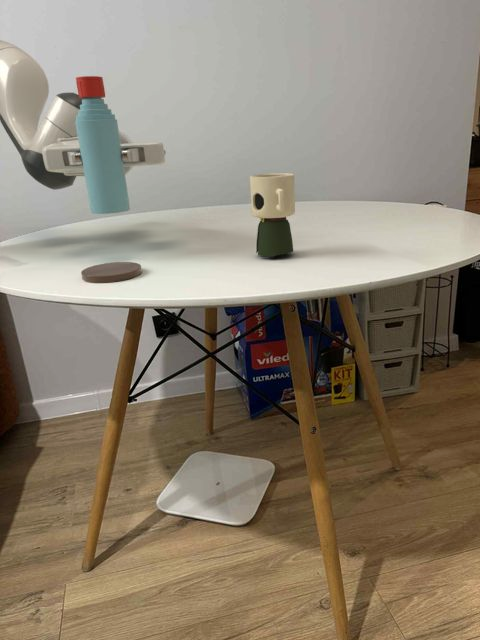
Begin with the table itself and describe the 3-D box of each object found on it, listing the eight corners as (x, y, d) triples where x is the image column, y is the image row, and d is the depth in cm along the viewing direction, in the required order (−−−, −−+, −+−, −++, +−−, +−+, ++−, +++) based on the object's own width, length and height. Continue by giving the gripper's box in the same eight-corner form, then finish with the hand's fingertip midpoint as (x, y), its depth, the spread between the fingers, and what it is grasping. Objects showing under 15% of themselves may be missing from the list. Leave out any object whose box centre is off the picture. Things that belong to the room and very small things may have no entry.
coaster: (72, 276, 78) (70, 270, 78) (123, 265, 84) (122, 259, 83) (99, 286, 72) (98, 279, 72) (153, 273, 78) (152, 266, 77)
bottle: (84, 212, 85) (60, 82, 77) (117, 207, 89) (98, 83, 81) (103, 215, 81) (80, 78, 73) (137, 209, 85) (118, 79, 77)
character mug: (247, 251, 89) (242, 174, 84) (285, 247, 91) (283, 171, 86) (263, 265, 79) (259, 178, 74) (305, 260, 81) (304, 175, 76)
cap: (74, 98, 78) (71, 78, 77) (97, 98, 81) (94, 79, 79) (86, 96, 75) (83, 75, 74) (110, 96, 78) (107, 76, 77)
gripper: (167, 169, 96) (168, 174, 84) (56, 175, 93) (40, 182, 81) (163, 133, 93) (163, 133, 81) (49, 139, 90) (31, 139, 78)
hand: (101, 157), depth 81 cm, fingers closed on bottle, 6 cm apart
